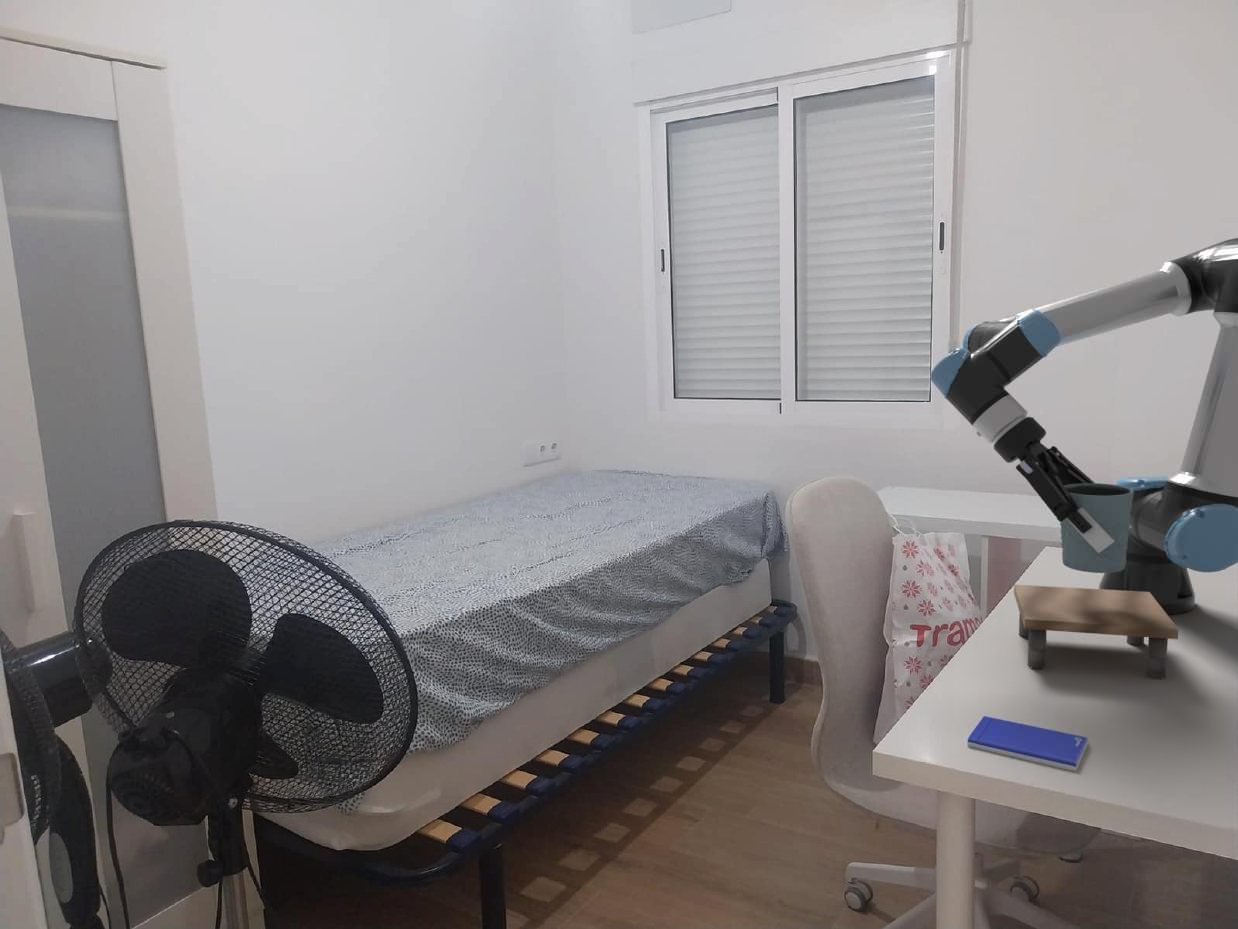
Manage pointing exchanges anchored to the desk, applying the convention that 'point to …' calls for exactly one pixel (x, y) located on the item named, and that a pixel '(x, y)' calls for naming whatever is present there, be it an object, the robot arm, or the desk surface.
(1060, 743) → the hard drive
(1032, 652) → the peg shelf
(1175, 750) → the desk surface
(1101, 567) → the teal plant pot
